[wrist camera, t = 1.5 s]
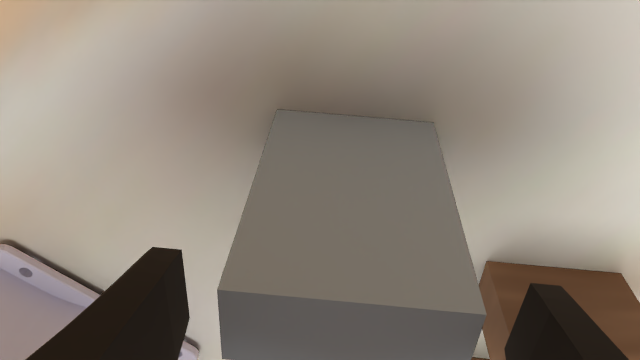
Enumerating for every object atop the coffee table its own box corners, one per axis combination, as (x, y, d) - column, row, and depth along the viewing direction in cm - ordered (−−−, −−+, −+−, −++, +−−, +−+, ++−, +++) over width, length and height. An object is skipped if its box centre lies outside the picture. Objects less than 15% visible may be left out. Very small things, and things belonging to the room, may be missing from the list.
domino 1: (277, 109, 16) (216, 289, 9) (433, 122, 16) (486, 314, 9) (276, 162, 17) (222, 358, 10) (422, 175, 17) (463, 381, 10)
